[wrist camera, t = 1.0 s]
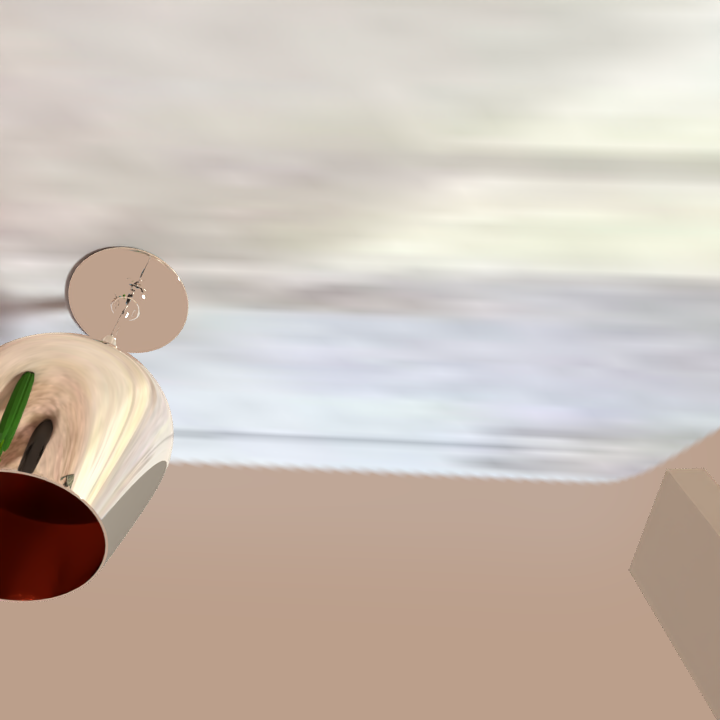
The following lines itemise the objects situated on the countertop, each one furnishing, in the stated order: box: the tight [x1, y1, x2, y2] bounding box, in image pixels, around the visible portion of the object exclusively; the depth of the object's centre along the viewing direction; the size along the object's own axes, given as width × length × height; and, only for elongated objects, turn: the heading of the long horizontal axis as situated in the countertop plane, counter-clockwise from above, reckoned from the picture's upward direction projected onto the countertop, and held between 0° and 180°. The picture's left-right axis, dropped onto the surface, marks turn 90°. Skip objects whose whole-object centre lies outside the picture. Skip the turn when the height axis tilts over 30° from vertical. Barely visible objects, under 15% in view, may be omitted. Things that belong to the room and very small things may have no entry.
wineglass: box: [0, 247, 189, 602], centre depth 28 cm, size 8×8×18 cm
